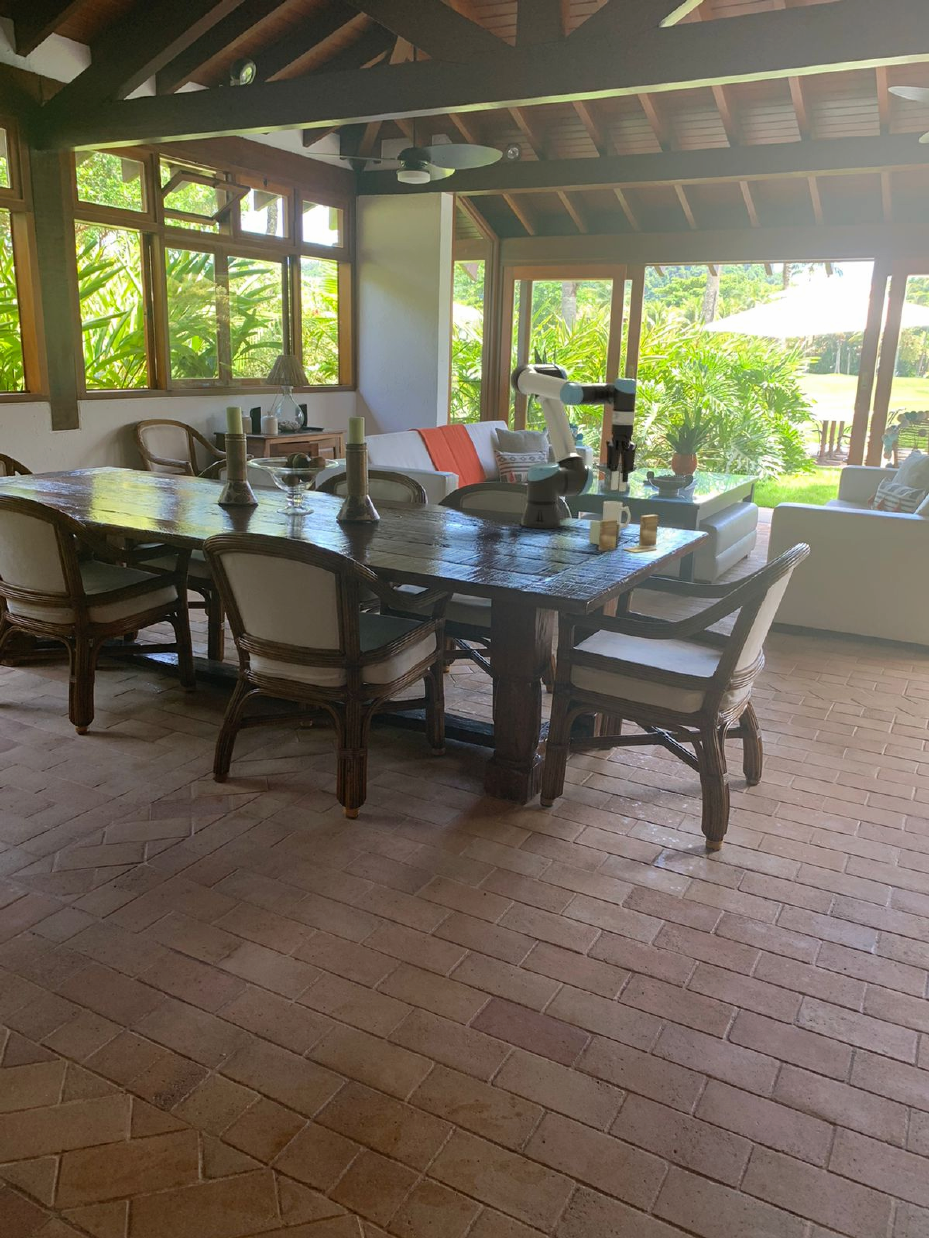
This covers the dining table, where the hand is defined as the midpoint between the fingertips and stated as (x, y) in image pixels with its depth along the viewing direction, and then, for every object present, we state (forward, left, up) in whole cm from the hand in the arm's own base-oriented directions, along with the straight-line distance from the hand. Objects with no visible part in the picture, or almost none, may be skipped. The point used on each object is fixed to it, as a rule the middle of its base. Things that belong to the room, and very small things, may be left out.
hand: (618, 490), depth 334 cm
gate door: (+12, -17, -16) cm, 26 cm away
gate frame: (+21, -10, -17) cm, 28 cm away
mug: (0, 0, -17) cm, 17 cm away
